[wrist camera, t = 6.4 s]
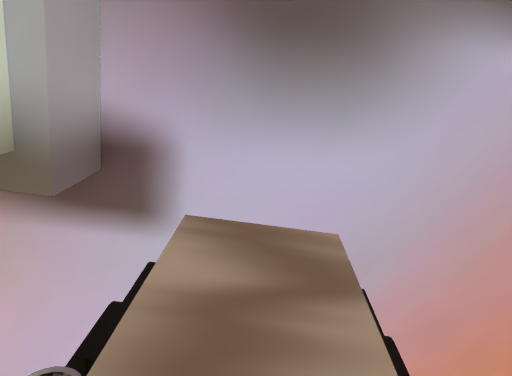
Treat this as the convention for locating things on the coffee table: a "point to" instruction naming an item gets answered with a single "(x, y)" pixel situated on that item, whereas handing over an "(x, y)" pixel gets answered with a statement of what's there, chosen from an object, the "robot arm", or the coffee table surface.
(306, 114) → the coffee table surface
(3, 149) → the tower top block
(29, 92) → the tower bottom block
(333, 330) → the ash block
